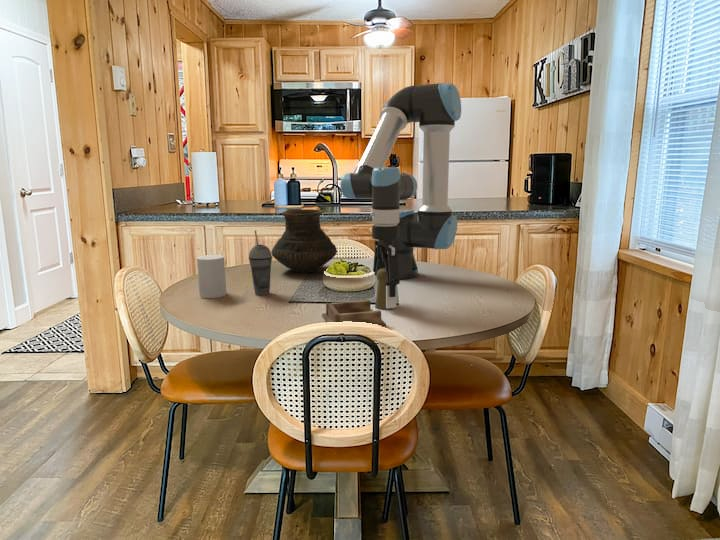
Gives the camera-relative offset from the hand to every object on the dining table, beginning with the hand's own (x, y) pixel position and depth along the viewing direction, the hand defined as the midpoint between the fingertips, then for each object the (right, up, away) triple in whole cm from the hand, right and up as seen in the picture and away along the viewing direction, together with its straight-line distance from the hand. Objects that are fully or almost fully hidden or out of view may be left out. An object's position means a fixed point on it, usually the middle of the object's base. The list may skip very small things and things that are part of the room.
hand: (385, 302), depth 145 cm
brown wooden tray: (-9, -4, -12) cm, 16 cm away
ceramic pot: (-28, +9, +49) cm, 57 cm away
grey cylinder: (-53, +1, +15) cm, 56 cm away
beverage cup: (-38, +2, +16) cm, 41 cm away
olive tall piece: (0, -1, 0) cm, 1 cm away
